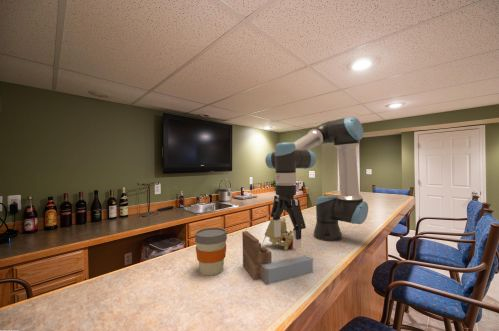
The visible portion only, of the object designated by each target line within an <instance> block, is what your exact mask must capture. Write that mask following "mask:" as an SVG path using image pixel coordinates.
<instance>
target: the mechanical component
mask: <svg viewBox="0 0 499 331" xmlns="http://www.w3.org/2000/svg"><path fill="white" fill-rule="evenodd" d="M278 220H281V236H280V237H274V220H273V217H271V218H270V221H269V223H268V225H267V227H266V230H265V232H264V239H263V241H262V243H261V247H263V244H264V242H265V239H266V238H269V240H268V241H269V242H270V243H271V244H272V245H273V246H275V245H277V244H278V245H280V246H282V247H283V250H285V251H288V249H292V248H293V230H291V229H290V230H289V231H288V230H287V227H288V226H287V222H286V218H285V217H280V219H278Z"/></svg>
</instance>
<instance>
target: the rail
mask: <svg viewBox="0 0 499 331" xmlns="http://www.w3.org/2000/svg"><path fill="white" fill-rule="evenodd" d="M313 264H314V263H313V258H311V257H310V256H308V255H302V256H297V257H292V258H288V259H283V260H278V261H273V262H272V263H269V264H261V279H260V280H261V281H262V282H263V283H264V284H265V285H270V284H274V283H278V282H281V281H285V280H290V279H293V278H294V279H295V278H298V277H300V276H305V275H308V274H312V273H314V267H313V266H314V265H313Z"/></svg>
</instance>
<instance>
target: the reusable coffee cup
mask: <svg viewBox="0 0 499 331" xmlns="http://www.w3.org/2000/svg"><path fill="white" fill-rule="evenodd" d="M194 234H195V235H194V242H195V245H196V246H195V253H196V259H197V261H198V266H199V272H200V274H201V275H204V276H209V277H210V276H215V275H216V276H217V275H218V274H220V273H222V272H223V271H224V264H225V263H224V262H225V259H226V253H227V240H228V236H227V230H226V229H225V228H222V227H206V228H202V229H201V228H200V229H199V230H197V231H196V232H195V233H194Z"/></svg>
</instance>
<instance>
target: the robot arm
mask: <svg viewBox="0 0 499 331" xmlns="http://www.w3.org/2000/svg"><path fill="white" fill-rule="evenodd" d="M363 128H364V127H363V125H362V122H361V121H360V120H359V119H358V117H353V116H352V117H351V116H350V117H343V118H339V119H335V120H329V121H326V122H323V123H321V124H319V125H317V126H315V127H313V128H311V129H310V130H309V131H307V134H305V135H303V136H302V137H300V138H298V139H297V140H294V142H288V141H287V142H278V143H277V144H276V145H275V150H274V151H272V152H269V153H268V154H266V156H265V159H264V160H265V161H264V162H265V164H266V166H267V168H268V169H274V170H275V176H274V178H275V183H276V185H275V195H274V197H273V204H272V207H271V212H270V217H271V218H272V217H273V220H274V237H280V236H281V220H278V219H281V216H282V215H283V212H284V211H285V212H286V213H287V214H288V216H289V219H290V222H291V223H292V226H293V228H292V231H293V234H292V235H293V246H292V248H293V250H298V249H302V230H305V229H307V226H306V222H305V219H304V216H303V212H302V209H301V205H300V204H301V203H300V202H301V200H300V199H295V198H294V196H296V195H297V185H296V184H297V171H296V170H299V169H304V170H305V169H312V168H313V167H314V166H315V165H316V163H317V157H316V154H315V152H314V151H312V149H313V148H314V147H320V146H321V145H325V144H332V143H333V146H334V147H335V148H336V149H337V158H338V159H337V160H338V161H337V162H338V174H339V185H340V194H339V195H338V196H337V195H324V196H318V197H317V198H316V200H315V211H316V212H315V213H316V214H315V215H316V217H315V218H316V219H315V220H316V223H315V226H314V230H313V237H314V238H315V239H318V240H320V241H328V242H335V241H337V242H338V241H340V240H342V238H343V234H342V232H341V228H340V225H339V221H340V222H344V223H349V224H352V225H353V224H354V225H355V224H356V225H362V224H363V223H364V222H366V220H367V218H368V215H369V204H368V203H367V201H364V197H363V196H362V195H361V194H360V188H359V176H358V175H359V173H358V172H359V170H358V159H357V146H358V145H359V144H360V140H362V139H363V137H364V129H363Z"/></svg>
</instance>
